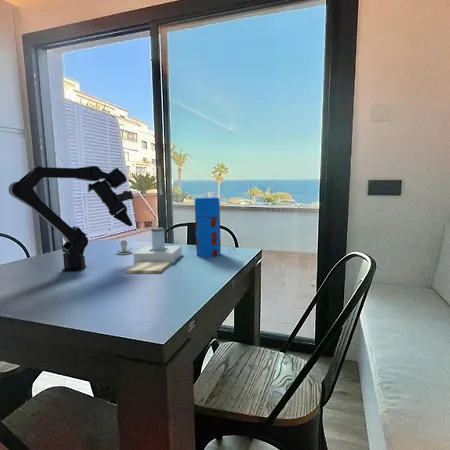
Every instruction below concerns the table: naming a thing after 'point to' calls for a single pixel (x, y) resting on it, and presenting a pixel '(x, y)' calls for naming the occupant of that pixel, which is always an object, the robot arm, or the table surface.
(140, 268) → the pad
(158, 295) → the table surface
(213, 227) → the thermos
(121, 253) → the pacifier
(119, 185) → the robot arm
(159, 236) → the cylinder
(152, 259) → the housing
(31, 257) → the table surface
